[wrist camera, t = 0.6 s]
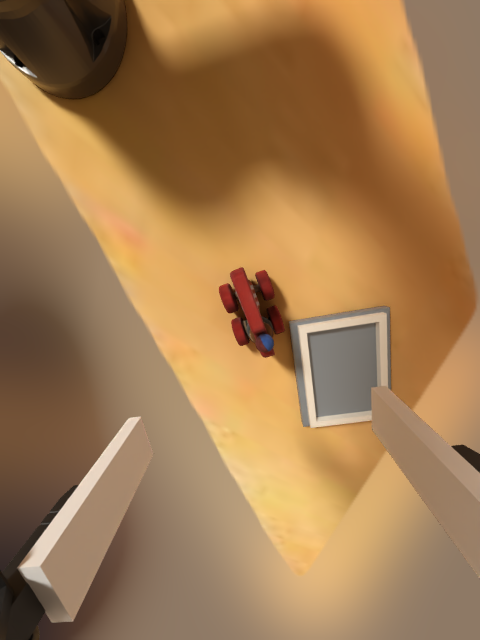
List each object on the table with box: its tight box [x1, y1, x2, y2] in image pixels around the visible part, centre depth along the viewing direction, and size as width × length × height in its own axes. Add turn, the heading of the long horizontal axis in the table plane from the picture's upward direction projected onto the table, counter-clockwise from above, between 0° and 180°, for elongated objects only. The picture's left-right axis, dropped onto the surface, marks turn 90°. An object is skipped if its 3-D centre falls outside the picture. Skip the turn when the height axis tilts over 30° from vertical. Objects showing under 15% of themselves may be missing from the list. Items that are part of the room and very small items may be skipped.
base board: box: [289, 306, 391, 428], centre depth 34 cm, size 18×14×2 cm
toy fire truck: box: [219, 267, 285, 358], centre depth 29 cm, size 7×12×10 cm, turn 19°
